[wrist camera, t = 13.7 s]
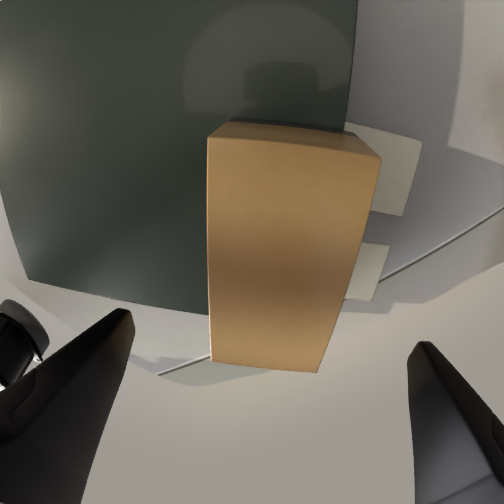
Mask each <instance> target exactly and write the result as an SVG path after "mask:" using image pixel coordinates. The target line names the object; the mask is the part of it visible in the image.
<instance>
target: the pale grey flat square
mask: <svg viewBox="0 0 504 504" xmlns="http://www.w3.org/2000/svg"><path fill="white" fill-rule="evenodd" d="M389 249H390V245H385V244H376V243H368V242H362V243H361V246H360V250H359V253H358V257H357V260H356V263H355V267H354V270H353V273H352V276H351V279H350V283H349V286H348V289H347V292H346V295H345V298H344V299H358V300H372V298H373V295H374V293H375V290H376V287H377V284H378V282H379V279H380V276H381V273H382V270H383V267H384V264H385V261H386V258H387V255H388V252H389Z"/></svg>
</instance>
